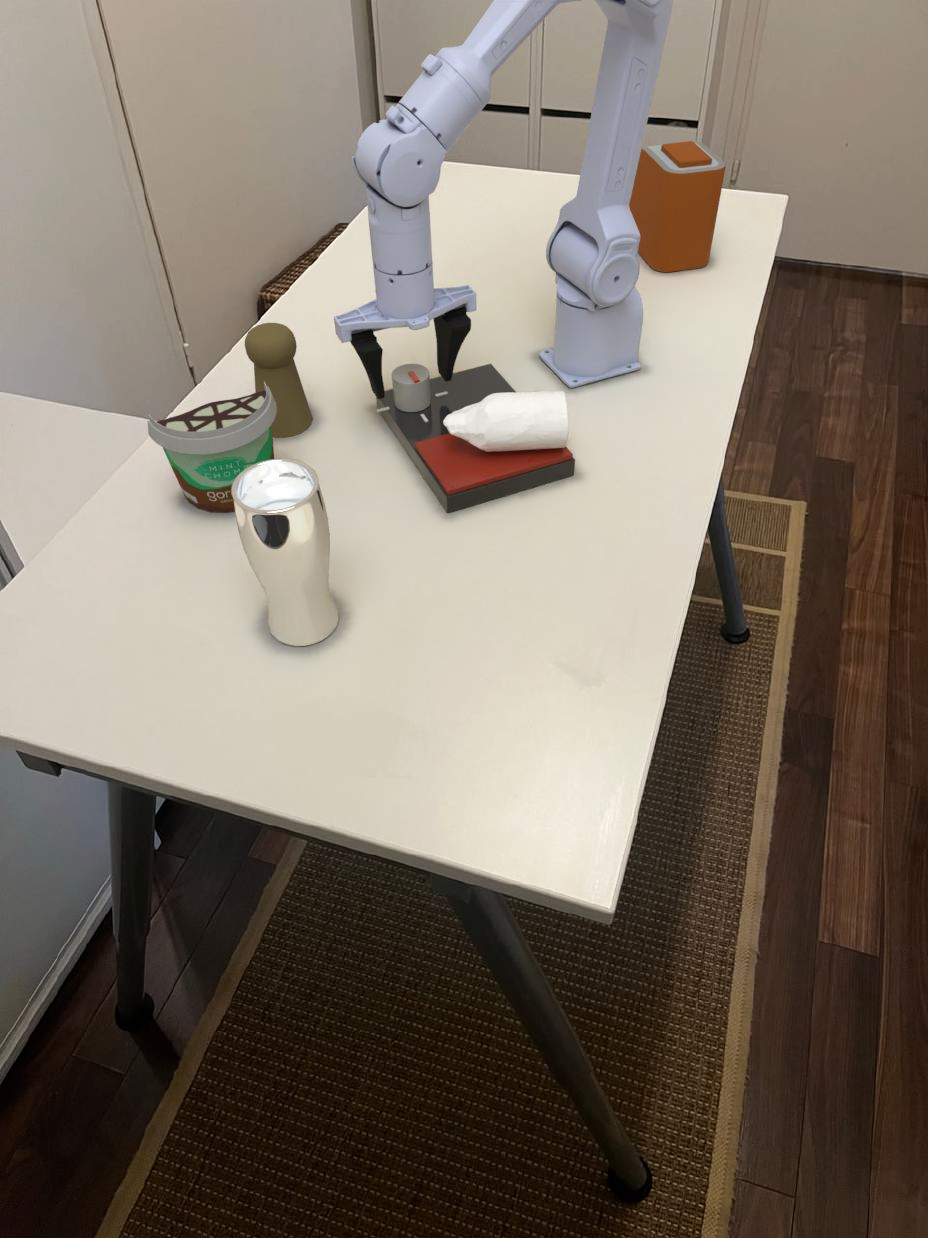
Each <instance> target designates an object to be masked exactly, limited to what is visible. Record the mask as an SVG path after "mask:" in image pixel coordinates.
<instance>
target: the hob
mask: <svg viewBox="0 0 928 1238" xmlns="http://www.w3.org/2000/svg"><path fill="white" fill-rule="evenodd" d="M384 391H385V396H384V398H382V399H378V398H377V397H376V396H375V400H376V408H377V409H376V413H380V415H381V416H382V418H383V419H384V421H385V422H386V424H387V425H388V427H389V428H390V430H391V431H392V433H393V434H394V437H396V439H397V440H398V441H399V443H400V444H401V447H403V449H404V451H405V453H406V454H407V455H408V457H409V458H410V460H411V461H412V463H413V464H414V466H415V467H416V469H417V470H418V472H419V473H420V474H421V476H422V477H423V479H424V480H425V482H426V483H427V484H428V486H429V488H430V489H431V491H432V492H433V494H434V495H435V498H437V500H438V501H439V503H440V504H441V506H442V507H443V509H444V510H445V512H446V513H447V514H450V513H453V512H456V511H459V510H463V509H467V508H469V507H474V506H477V505H480V504H484V503H486V502H490V501H494V500H496V499H500V498H503V497H506V496H511V495H513V494H516V493H520V492H524V491H526V490H530V489H534V488H536V487H540V486H543V485H547V484H550V483H553V482H557V481H560V480H563V479H567V478H570V477H573V476H575V468H576V459H575V457H573V459H570V460H567V461H564V462H560V463H557V464H553V465H550V466H547V467H543V468H540V469H536V470H533V471H529V472H526V473H523V474H519V475H516V476H512V477H509V478H506V479H502V480H499V481H495V482H492V483H489V484H485V485H482V486H478V487H475V488H472V489H468V490H465V491H461V492H458V493H455V494H451V495H447V493H446V492H445V490H444V489H443V487H442V486H441V484H440V483H439V482H438V480H437V479H436V477H435V476H434V474H433V473H432V471H431V470H430V468H429V467H428V466H427V464H426V463H425V461H424V460H423V458H422V457H421V455H420V454H419V452H418V451H417V449H416V448H415V443H416V442H420V441H423V440H427V439H431V438H434V437H438V436H442V435H445V434H449V431H448V429H447V427H446V426H444V424H443V420H444V419H445V418H446V416H447V415H449V414H451V413H453V412H454V411H458V410H460V409H462V408H464V407H466V406H469V405H472V404H476V403H479V402H481V401H482V400H483V399H484V398H485V397H487V396H488V395H491V394H493V393H507V392H514V393H515V392H516V390H515V389H514V388H513V387H512V386H511V385H510V384H509V382H508V381H507V380H506V379H505V377H504V376H502V374H501V373H500V372H499V371H498V370H497V368H496V367H495V366H494V365H493V364H492V363H488V364H487V363H486V364H484V365H479V366H476V367H472V368H467V369H465V370H460V371H456V372H453V374H452V379H451V380H450V381H447V382H446V381H445V380H444V379H443V377H442V376H441V375H440V376H437V377H433V378H430V392H431V403H430V405H429V406H428V407H427V408H426V409H424V410H422V411H418V412H404V411H401V410H399V409H398V408H396V406H395V405H394V397H393V388H389V389H385V390H384Z"/></svg>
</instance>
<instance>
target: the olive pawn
mask: <svg viewBox="0 0 928 1238" xmlns="http://www.w3.org/2000/svg"><path fill="white" fill-rule="evenodd" d="M297 345H298V344H297V340H296V337H295V334H294V332H293V331H292V330H291V329H290V328H289V327H288V325H285V324H283V323H278V322H265V323H260V324H257V325H255V326H253V327H252V328H251V329H249V331H247V333H246V336H245V338H244V349H245V353H246V355H247V357H248V359H249V360H250V362H252V363H253V373H254V375H253V376H254V389H255V390H254V391H255V392H254V393H256V392H261V391H264V381H265V383H266V385H267V387H269V389H270V391H271V393H272V395H273V398H274V400H275V402H276V406H277V413H276V416H275V419H274V421H273V423H272V424H271V426H272V438H290V437H294V436H297V435H300V434H302V433H304V432H305V431H306V430H308V429H309V428H310V427H311V426H312V423H313V420H314V417H313V415H312V412H311V409H310V405H309V402H308V399H307V396H306V393H305V390H304V386H303V384H302V381H301V378H300V375H299V371H298V368H297V365H296V362H295V359H294V358H295V356H296V354H297V347H298V346H297Z"/></svg>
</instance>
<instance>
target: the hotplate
mask: <svg viewBox="0 0 928 1238" xmlns="http://www.w3.org/2000/svg"><path fill="white" fill-rule="evenodd" d="M415 448H416V449H417V451H418V452H419V454H420V455H421V457H422V458H423V460H424V461H425V463H426V464H427V466H428V467H429V468H430V470H431V471H432V473H433V474H434V476H435V477H436V479H437V480H438V482H439V483H440V484H441V486H442V487H443V489H444V490H445V492H446V493H447V495H451V494H455V493H458V492H461V491H465V490H468V489H472V488H475V487H478V486H482V485H485V484H489V483H492V482H495V481H499V480H502V479H506V478H509V477H512V476H516V475H519V474H523V473H526V472H529V471H533V470H536V469H540V468H543V467H547V466H550V465H553V464H557V463H560V462H564V461H567V460H570V459H573V458H574V453H572V451H571V450H570V449H569V448H568V447H567V446H566V447H564V448H551V449H531V450H513V451H492V452H486V451H485V450H481V449H479V448H477V447H476V446H474V445H472V444H470V443H469V442H468V441H466V440H464V439H462V438H459V437H456V436H454V435H451V434H450V433H449V434H445V435H442V436H438V437H434V438H431V439H427V440H423V441H420V442H416V443H415Z"/></svg>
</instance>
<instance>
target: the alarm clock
mask: <svg viewBox="0 0 928 1238" xmlns="http://www.w3.org/2000/svg"><path fill="white" fill-rule="evenodd" d="M725 172H726V163H725V162H724V161H723V159H721V158H720V157H719V156H718V155H717V154H715V152H713V151H712V150H711V149H710V148H709V147H708V146H706V145H705V144H704V143H702V142H700V141H698V140H688V141H680V142H670V143H663V144H658V145H650V146H649V145H647V146H642V148H641V153H640V158H639V162H638V167H637V171H636V176H635V180H634V185H633V189H632V194H631V199H630V203H629V208H630V211H631V213H632V216H633V218H634V220H635V223H636V225H637V228H638V230H639V233H640V242H639V247H638V255H640V257H641V258H642V259H643V260H644V261H645V262H646V263H647V265H648V266H649V267H650V268H651V269H652V270H654V271H657V272H661V273H672V272H680V271H688V270H696V269H701V268H704V267H706V266H707V265H708V264H709V262H710V256H711V252H712V251H711V250H712V245H713V240H714V235H715V228H716V222H717V216H718V211H719V207H720V200H721V194H722V189H723V183H724V177H725Z"/></svg>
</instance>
